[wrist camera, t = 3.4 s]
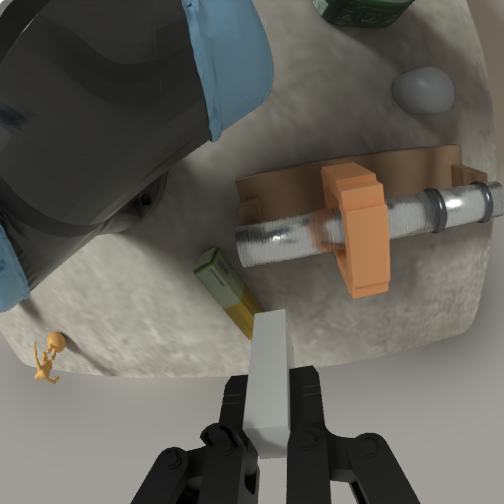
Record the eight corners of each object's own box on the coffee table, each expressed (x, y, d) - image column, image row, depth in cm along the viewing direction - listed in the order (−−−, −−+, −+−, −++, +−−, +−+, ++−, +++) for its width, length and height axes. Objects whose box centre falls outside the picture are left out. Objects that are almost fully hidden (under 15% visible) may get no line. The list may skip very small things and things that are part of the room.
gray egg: (396, 114, 26) (421, 114, 21) (387, 73, 24) (410, 65, 19) (430, 112, 26) (458, 113, 20) (422, 73, 24) (449, 67, 18)
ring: (333, 254, 30) (354, 307, 21) (318, 164, 26) (341, 185, 17) (360, 249, 29) (389, 299, 21) (348, 159, 26) (384, 178, 17)
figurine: (45, 318, 43) (11, 358, 33) (64, 318, 43) (29, 361, 32) (65, 351, 47) (37, 392, 36) (84, 352, 46) (56, 397, 35)
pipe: (248, 257, 28) (245, 279, 24) (237, 217, 26) (231, 234, 22) (485, 211, 23) (507, 224, 20) (486, 174, 22) (509, 184, 18)
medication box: (199, 254, 36) (190, 270, 32) (216, 244, 35) (209, 259, 31) (252, 322, 39) (249, 342, 36) (269, 314, 39) (267, 334, 35)
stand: (256, 252, 35) (252, 281, 28) (237, 178, 31) (228, 193, 25) (457, 213, 30) (486, 232, 24) (454, 144, 27) (487, 152, 21)
